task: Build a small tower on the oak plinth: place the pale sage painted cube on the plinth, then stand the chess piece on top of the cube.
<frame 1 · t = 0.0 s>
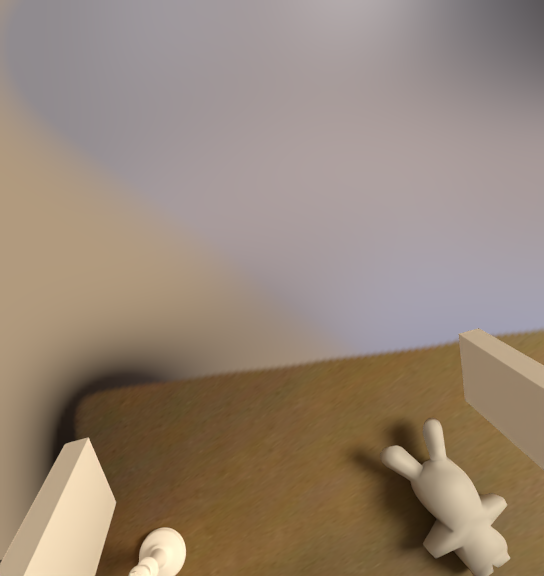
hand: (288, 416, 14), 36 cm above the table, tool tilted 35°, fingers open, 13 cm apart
bunny figurine: (438, 494, 46), on the table
chess piece: (163, 552, 44), on the table
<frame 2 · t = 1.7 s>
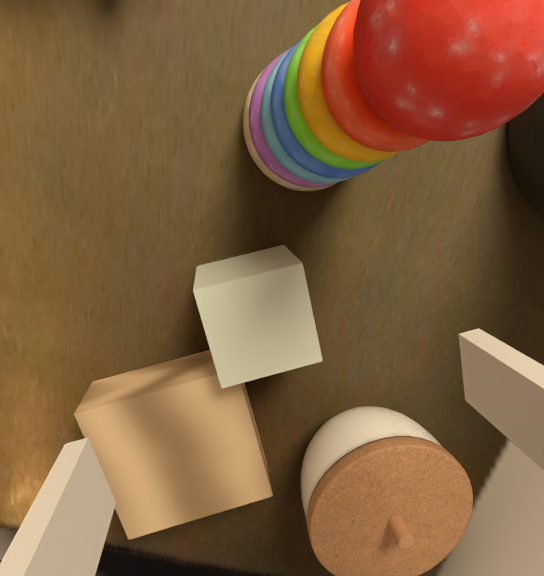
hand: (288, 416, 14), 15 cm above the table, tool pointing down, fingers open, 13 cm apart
lidded jar: (351, 440, 33), on the table
stacking toy: (304, 126, 26), on the table
cube: (250, 296, 28), on the table
plinth: (184, 421, 30), on the table
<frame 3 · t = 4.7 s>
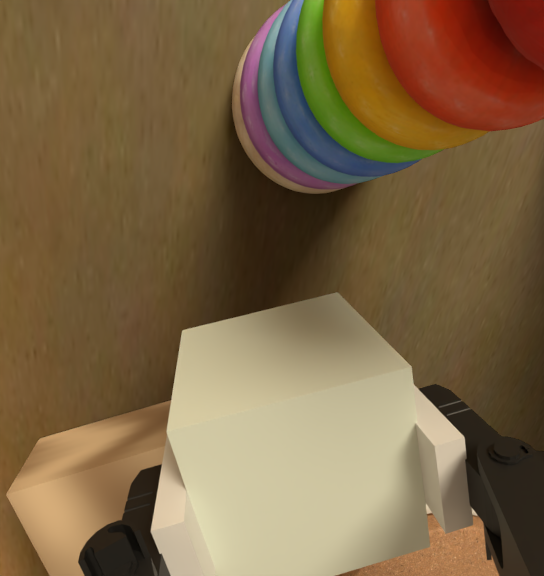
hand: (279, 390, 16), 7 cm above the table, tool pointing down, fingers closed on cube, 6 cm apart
lidded jar: (365, 495, 27), on the table
stacking toy: (311, 109, 20), on the table
cube: (276, 379, 16), point 6 cm above the table, touching gripper
plinth: (159, 483, 24), on the table
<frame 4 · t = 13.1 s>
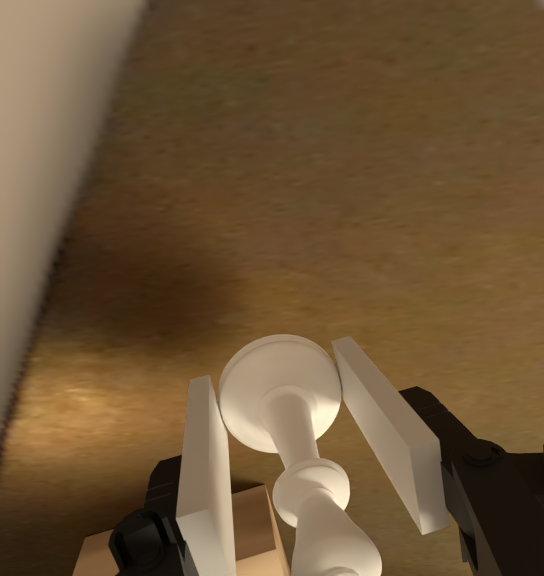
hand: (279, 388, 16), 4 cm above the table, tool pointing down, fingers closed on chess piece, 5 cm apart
chess piece: (278, 388, 17), point 4 cm above the table, touching gripper
plinth: (201, 574, 24), on the table
when the fingers open (11 cm above the table, at t = 17.0 s): chess piece stays where it is, resting on cube.
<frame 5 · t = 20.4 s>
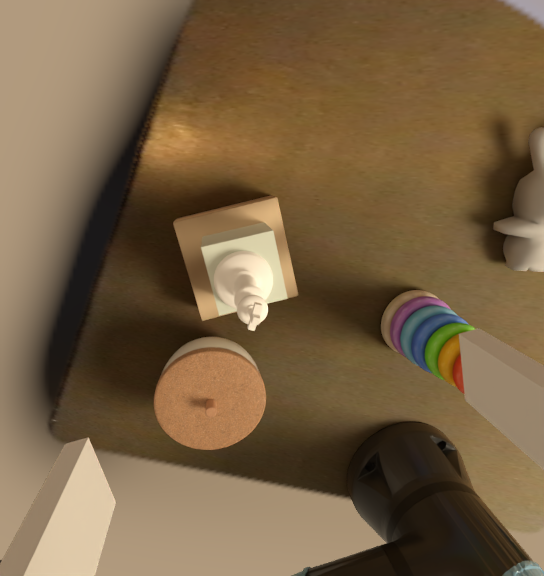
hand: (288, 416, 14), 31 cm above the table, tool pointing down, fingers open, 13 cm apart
bunny figurine: (527, 202, 47), on the table
lidded jar: (211, 365, 47), on the table
stacking toy: (409, 319, 49), on the table
chess piece: (243, 279, 34), point 10 cm above the table, touching cube
cube: (240, 259, 40), point 4 cm above the table, touching chess piece, plinth
plinth: (236, 253, 43), on the table
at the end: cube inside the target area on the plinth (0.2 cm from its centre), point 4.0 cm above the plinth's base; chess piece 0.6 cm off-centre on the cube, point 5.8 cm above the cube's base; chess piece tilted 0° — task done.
